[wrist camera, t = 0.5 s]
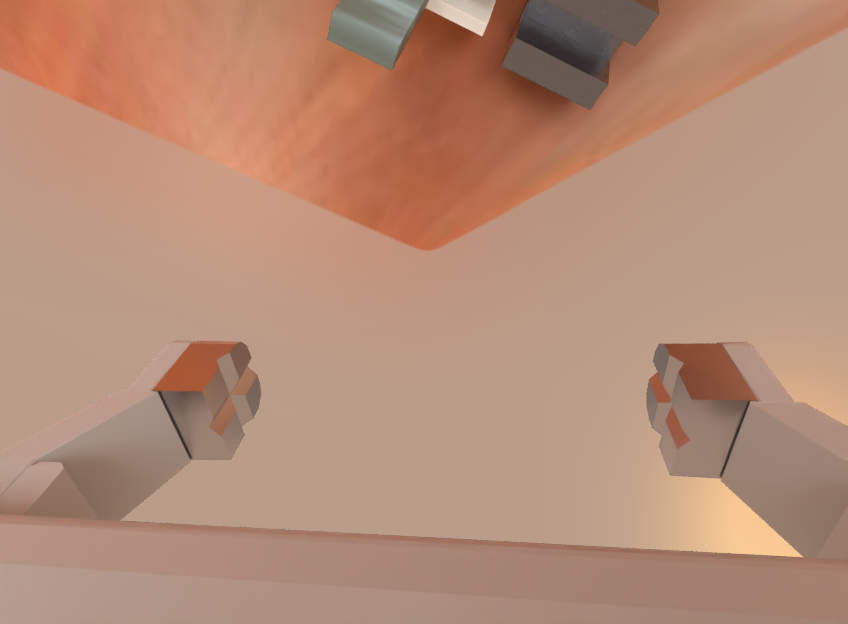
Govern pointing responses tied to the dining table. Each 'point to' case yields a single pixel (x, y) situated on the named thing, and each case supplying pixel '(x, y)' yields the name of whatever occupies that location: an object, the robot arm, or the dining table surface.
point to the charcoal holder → (575, 42)
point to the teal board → (375, 27)
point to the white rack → (464, 12)
